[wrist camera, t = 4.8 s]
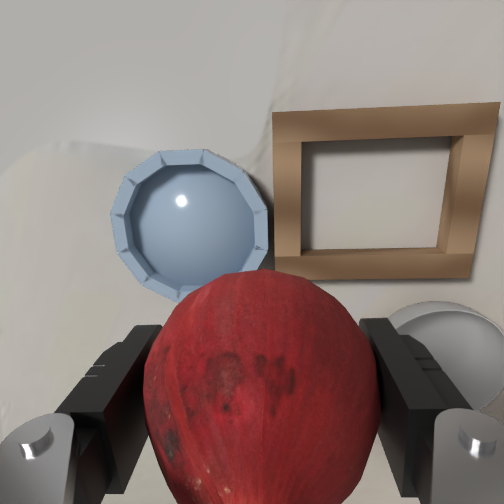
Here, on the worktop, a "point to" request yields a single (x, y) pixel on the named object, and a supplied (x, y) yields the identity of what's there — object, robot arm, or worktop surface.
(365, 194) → the worktop surface
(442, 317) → the saucepan
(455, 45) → the worktop surface
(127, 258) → the dish
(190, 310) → the onion
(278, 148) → the frame
